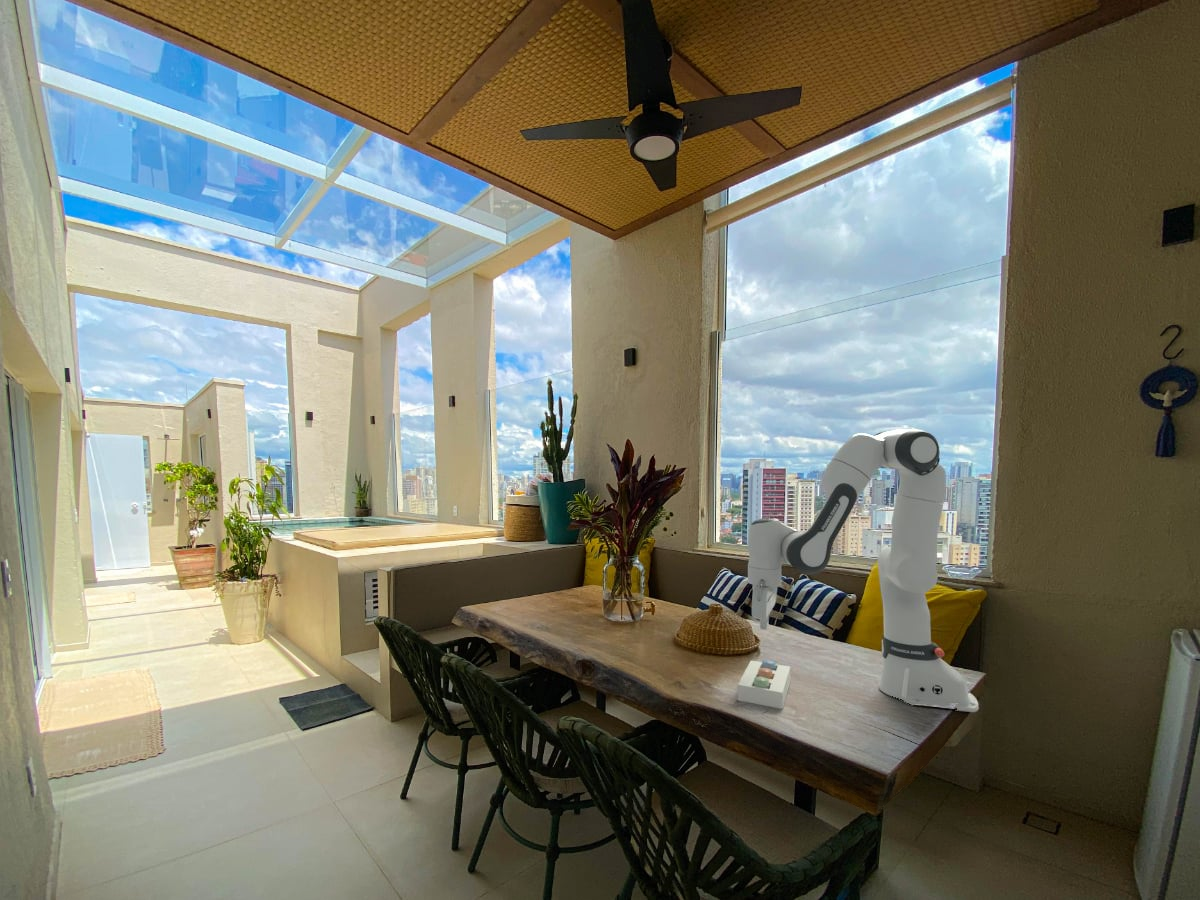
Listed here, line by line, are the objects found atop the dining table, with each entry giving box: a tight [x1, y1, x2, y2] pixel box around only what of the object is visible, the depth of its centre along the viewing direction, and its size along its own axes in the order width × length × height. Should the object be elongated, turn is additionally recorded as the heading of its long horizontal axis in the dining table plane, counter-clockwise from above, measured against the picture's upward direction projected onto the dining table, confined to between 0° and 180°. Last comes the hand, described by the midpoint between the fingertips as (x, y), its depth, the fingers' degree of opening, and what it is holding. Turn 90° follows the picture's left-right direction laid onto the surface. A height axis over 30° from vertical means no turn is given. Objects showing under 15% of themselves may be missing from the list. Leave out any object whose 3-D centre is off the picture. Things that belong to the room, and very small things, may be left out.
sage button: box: [754, 677, 769, 689], centre depth 133 cm, size 4×4×3 cm
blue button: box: [761, 659, 777, 671], centre depth 145 cm, size 4×4×3 cm
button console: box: [737, 660, 792, 710], centre depth 139 cm, size 11×20×4 cm, turn 154°
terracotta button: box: [758, 668, 772, 679], centre depth 139 cm, size 4×4×3 cm
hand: (764, 628), depth 140 cm, fingers closed
